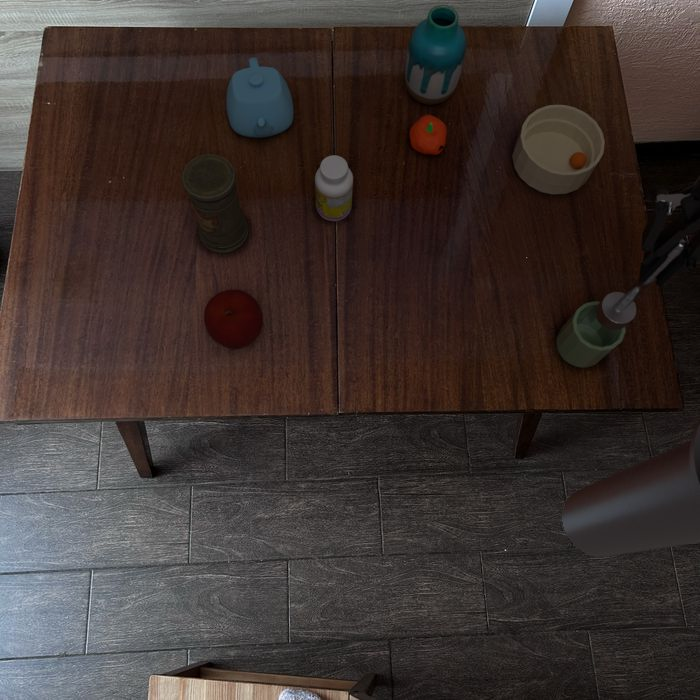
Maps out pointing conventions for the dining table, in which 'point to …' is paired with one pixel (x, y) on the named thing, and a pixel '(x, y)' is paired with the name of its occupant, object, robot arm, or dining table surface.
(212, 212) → the container
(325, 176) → the supplement bottle
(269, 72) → the teapot
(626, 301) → the ladle
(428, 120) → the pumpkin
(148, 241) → the dining table surface
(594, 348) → the cup
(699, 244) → the robot arm
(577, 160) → the ball
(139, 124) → the dining table surface
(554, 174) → the bowl
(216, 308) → the apple
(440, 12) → the vase
